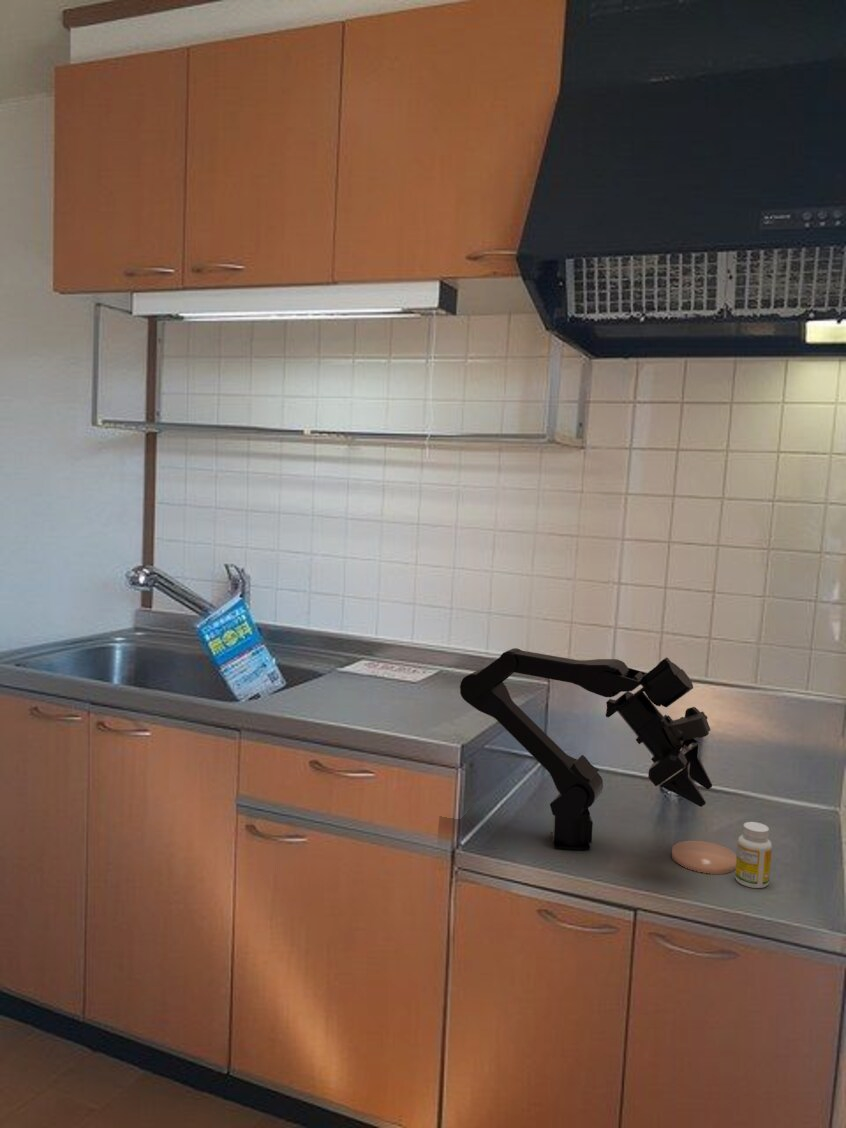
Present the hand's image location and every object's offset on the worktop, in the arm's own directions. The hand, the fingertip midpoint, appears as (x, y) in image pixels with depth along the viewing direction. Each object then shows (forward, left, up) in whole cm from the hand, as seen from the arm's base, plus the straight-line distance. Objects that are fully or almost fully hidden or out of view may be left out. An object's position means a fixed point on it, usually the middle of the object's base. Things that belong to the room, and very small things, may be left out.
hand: (707, 796), depth 150 cm
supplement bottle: (+7, -3, -13) cm, 16 cm away
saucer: (+1, +4, -13) cm, 14 cm away
